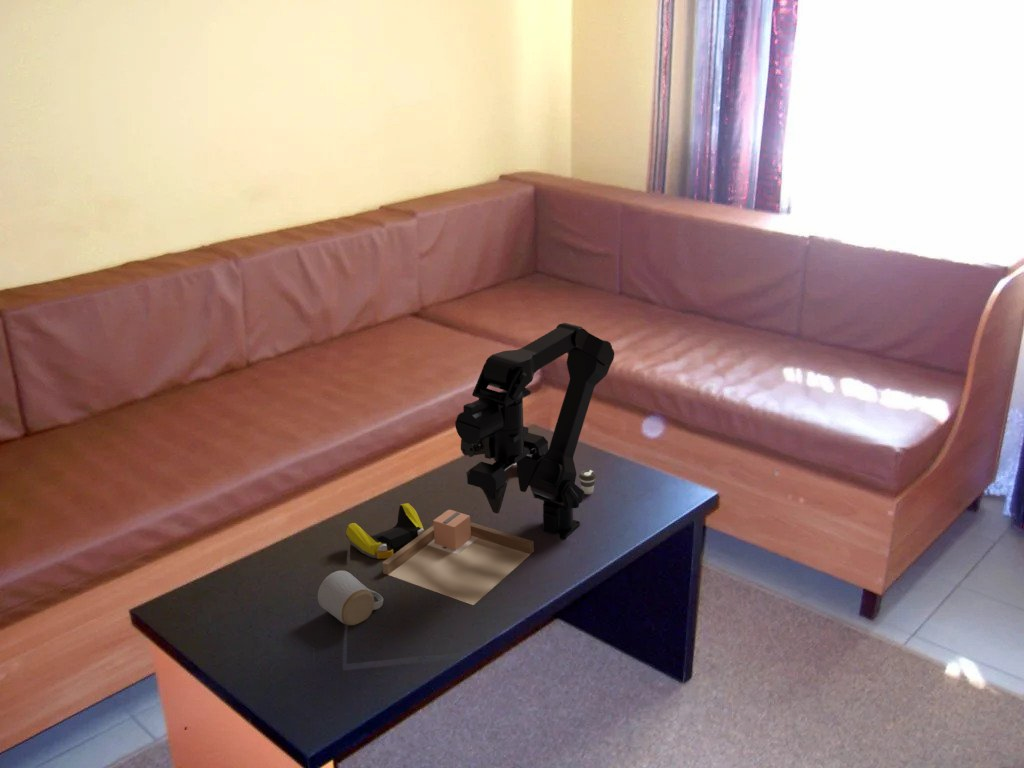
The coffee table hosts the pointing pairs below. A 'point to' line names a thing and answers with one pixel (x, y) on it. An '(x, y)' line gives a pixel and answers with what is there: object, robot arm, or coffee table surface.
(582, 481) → the coffee cup
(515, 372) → the robot arm
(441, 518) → the cube
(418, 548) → the arena
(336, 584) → the ceramic mug
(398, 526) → the gaming controller
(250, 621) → the coffee table surface
